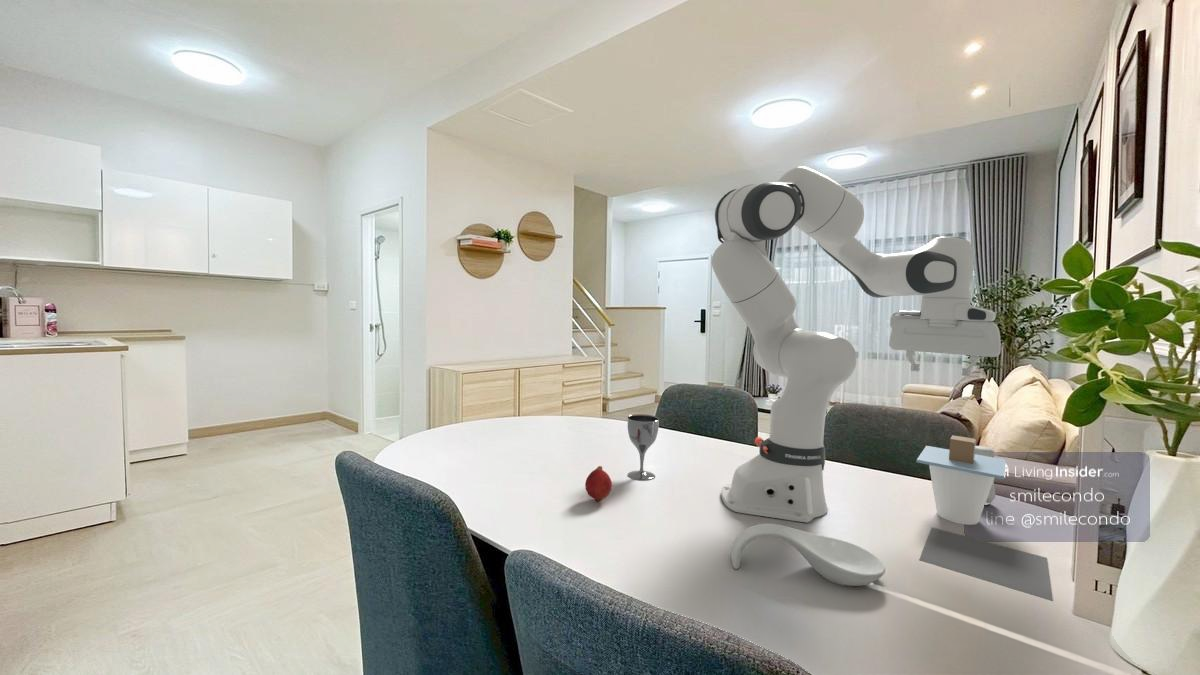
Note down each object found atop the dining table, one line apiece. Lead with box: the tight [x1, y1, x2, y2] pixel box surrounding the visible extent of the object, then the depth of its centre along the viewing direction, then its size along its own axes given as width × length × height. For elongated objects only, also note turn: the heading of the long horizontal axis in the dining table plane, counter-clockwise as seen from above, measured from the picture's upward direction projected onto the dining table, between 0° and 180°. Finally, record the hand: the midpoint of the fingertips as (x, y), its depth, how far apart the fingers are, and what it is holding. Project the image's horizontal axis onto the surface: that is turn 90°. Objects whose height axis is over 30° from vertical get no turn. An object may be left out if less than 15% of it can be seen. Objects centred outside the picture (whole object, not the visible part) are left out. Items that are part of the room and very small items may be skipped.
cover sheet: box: [916, 434, 1007, 480], centre depth 101 cm, size 14×14×5 cm
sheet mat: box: [918, 527, 1054, 602], centre depth 85 cm, size 17×17×1 cm
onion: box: [584, 465, 613, 503], centre depth 106 cm, size 6×6×8 cm
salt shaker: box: [975, 445, 996, 504], centre depth 111 cm, size 6×6×13 cm
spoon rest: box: [730, 523, 886, 587], centre depth 80 cm, size 24×12×7 cm, turn 81°
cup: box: [928, 465, 995, 526], centre depth 101 cm, size 12×12×12 cm
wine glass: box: [627, 413, 660, 482], centre depth 123 cm, size 8×8×15 cm
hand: (939, 373), depth 108 cm, fingers open, 8 cm apart
